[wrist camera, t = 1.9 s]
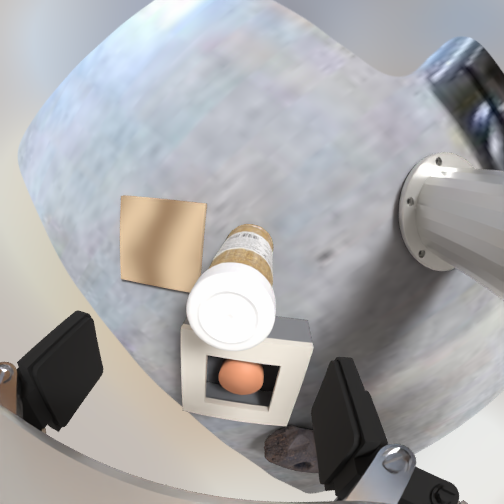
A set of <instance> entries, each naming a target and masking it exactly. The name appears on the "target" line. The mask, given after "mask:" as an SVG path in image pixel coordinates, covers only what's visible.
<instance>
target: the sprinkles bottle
mask: <svg viewBox="0 0 504 504" xmlns="http://www.w3.org/2000/svg"><path fill="white" fill-rule="evenodd" d="M272 285H273V242H272V238H271V237H270V235H269V234H268V232H267V231H266V230H264V229H263V228H262V227H260V226H257V225H253V224H244V225H241V226H238V227H237V228H235V229H234V230H232V231H231V233H230V234H229V235H228V237H227V240H226V241H225V242H224V244H223V245H222V247H221V248H220V249H219V251H218V252H217V254H216V255H215V257H214V259H213V261H212V263H211V265H210V267H209V269H208V270H206V271H205V272H204V273H203V274H202V275H201V276H200V277H199V279H198V280H197V282H196V283H195V285H194V287H193V288H192V290H191V292H190V294H189V296H188V299H187V305H186V313H187V318H188V321H189V324H190V326H191V328H192V329H193V331H194V332H195V334H196V335H197V336H198V337H199V338H200V339H201V340H203V341H204V342H205V343H207V344H209V345H210V346H212V347H215V348H217V349H221V350H225V351H243V350H247V349H250V348H253V347H255V346H257V345H258V344H260V343H261V342H262V341H263V340H265V339H266V337H267V336H268V335H269V334H270V332H271V330H272V328H273V325H274V322H275V313H276V300H275V295H274V291H273V289H272Z"/></svg>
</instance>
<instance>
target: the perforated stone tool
mask: <svg viewBox="0 0 504 504" xmlns="http://www.w3.org/2000/svg"><path fill="white" fill-rule="evenodd" d="M264 448H265V459H267V460H268V461H269V462H271V463H274V464H276V465H279V466H282V467H285V468H288V469H291V470H295V471H301V472H310V473H319V471H318V462H317V454H316V446H315V438H314V431H313V430H310V429H306V428H305V429H302V428H299V427H296V426H294V425H290V426H287V427H285V428H283V429H279V430H277V431H275V432H274V433H272V434H271V435H269V436H268V438H267V439H266V441H265V447H264Z"/></svg>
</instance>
